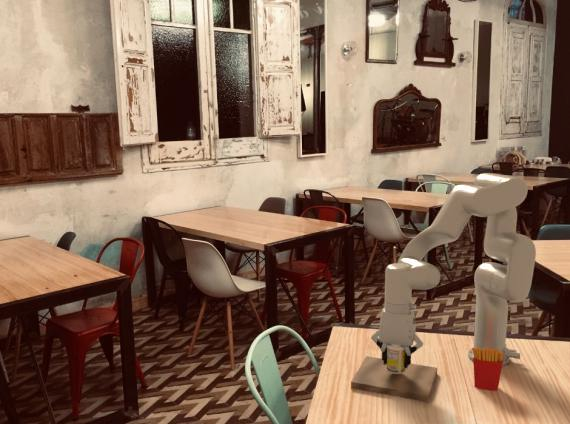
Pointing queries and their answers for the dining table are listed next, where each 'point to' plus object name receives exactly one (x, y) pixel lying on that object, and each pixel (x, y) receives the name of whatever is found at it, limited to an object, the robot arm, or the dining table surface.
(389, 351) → the supplement bottle
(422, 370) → the walnut board
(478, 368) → the french fries
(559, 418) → the dining table surface
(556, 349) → the dining table surface
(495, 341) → the robot arm
